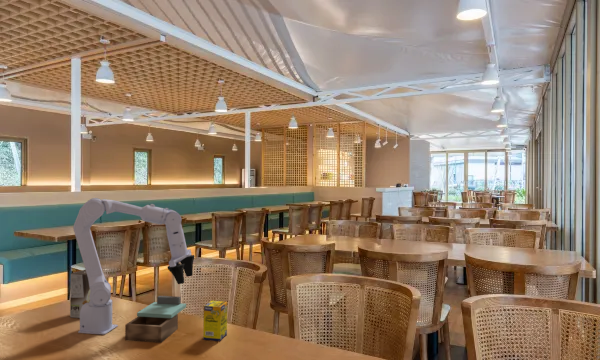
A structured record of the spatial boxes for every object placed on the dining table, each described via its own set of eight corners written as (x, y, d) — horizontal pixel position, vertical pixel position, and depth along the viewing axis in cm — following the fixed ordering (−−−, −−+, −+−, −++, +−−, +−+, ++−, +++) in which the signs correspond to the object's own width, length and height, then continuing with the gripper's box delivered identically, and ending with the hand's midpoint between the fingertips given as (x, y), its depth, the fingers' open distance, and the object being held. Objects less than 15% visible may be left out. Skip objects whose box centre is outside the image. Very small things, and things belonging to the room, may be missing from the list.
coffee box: (85, 318, 151) (85, 274, 151) (69, 317, 153) (69, 273, 152) (101, 310, 160) (102, 269, 160) (87, 309, 162) (87, 268, 161)
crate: (125, 340, 132) (125, 324, 132) (144, 326, 144) (144, 312, 144) (161, 342, 130) (161, 326, 130) (177, 328, 142) (177, 314, 142)
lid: (136, 316, 139) (136, 305, 139) (154, 305, 151) (154, 295, 151) (171, 318, 137) (171, 307, 137) (186, 307, 149) (186, 296, 149)
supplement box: (220, 341, 132) (220, 306, 131) (202, 340, 133) (203, 305, 133) (227, 334, 137) (227, 301, 137) (210, 333, 139) (210, 300, 138)
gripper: (179, 247, 142) (187, 285, 144) (195, 236, 157) (203, 271, 158) (160, 250, 143) (168, 288, 145) (177, 239, 158) (185, 274, 159)
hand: (185, 279), depth 151 cm, fingers open, 7 cm apart
